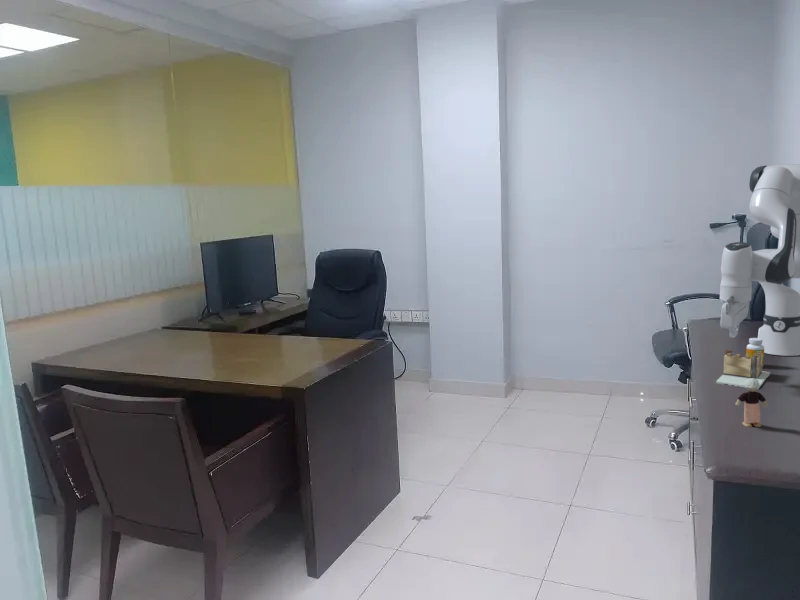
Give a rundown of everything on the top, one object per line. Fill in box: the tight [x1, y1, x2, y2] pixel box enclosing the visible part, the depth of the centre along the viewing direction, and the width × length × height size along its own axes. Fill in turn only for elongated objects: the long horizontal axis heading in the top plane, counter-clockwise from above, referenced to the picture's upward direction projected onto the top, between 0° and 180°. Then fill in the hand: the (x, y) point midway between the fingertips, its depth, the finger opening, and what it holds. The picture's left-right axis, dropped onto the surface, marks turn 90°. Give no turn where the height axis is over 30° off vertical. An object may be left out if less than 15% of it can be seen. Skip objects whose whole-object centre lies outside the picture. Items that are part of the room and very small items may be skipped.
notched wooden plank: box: [723, 353, 752, 377], centre depth 200 cm, size 8×2×7 cm, turn 46°
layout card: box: [715, 370, 771, 390], centre depth 199 cm, size 20×12×1 cm, turn 140°
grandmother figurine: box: [734, 378, 769, 428], centre depth 159 cm, size 8×4×13 cm, turn 92°
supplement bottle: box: [745, 337, 765, 368], centre depth 212 cm, size 5×5×10 cm
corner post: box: [724, 348, 733, 356], centre depth 203 cm, size 2×2×8 cm
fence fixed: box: [752, 351, 763, 379], centre depth 200 cm, size 10×2×7 cm, turn 140°
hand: (733, 336), depth 195 cm, fingers closed
